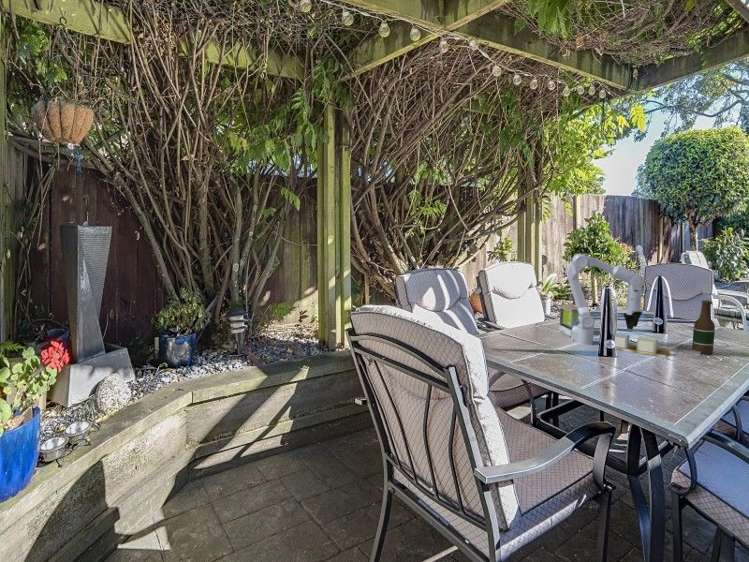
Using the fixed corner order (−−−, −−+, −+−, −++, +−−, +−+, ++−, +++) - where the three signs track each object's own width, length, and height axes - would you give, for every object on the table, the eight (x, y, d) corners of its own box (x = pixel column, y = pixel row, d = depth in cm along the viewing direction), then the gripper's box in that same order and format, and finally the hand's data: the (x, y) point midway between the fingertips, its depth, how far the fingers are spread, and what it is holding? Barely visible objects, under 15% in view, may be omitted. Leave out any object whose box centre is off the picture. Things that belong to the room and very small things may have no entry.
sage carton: (636, 352, 200) (637, 338, 200) (638, 350, 204) (639, 336, 203) (654, 355, 196) (655, 340, 195) (656, 353, 199) (657, 338, 198)
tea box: (589, 337, 233) (591, 309, 232) (570, 337, 233) (571, 309, 232) (576, 330, 248) (578, 304, 247) (558, 330, 248) (560, 304, 247)
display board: (604, 350, 208) (604, 344, 207) (615, 343, 221) (615, 337, 221) (665, 360, 192) (665, 354, 191) (672, 352, 205) (673, 346, 205)
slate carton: (609, 347, 208) (610, 334, 207) (611, 345, 211) (612, 332, 210) (626, 350, 203) (627, 336, 202) (628, 348, 206) (629, 334, 206)
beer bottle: (690, 352, 204) (694, 300, 201) (693, 349, 210) (697, 298, 207) (711, 356, 199) (716, 302, 196) (713, 352, 205) (718, 300, 202)
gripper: (640, 301, 201) (637, 331, 202) (647, 298, 211) (645, 326, 213) (622, 300, 205) (620, 329, 207) (630, 296, 216) (628, 324, 218)
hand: (631, 327), depth 210 cm, fingers open, 7 cm apart
